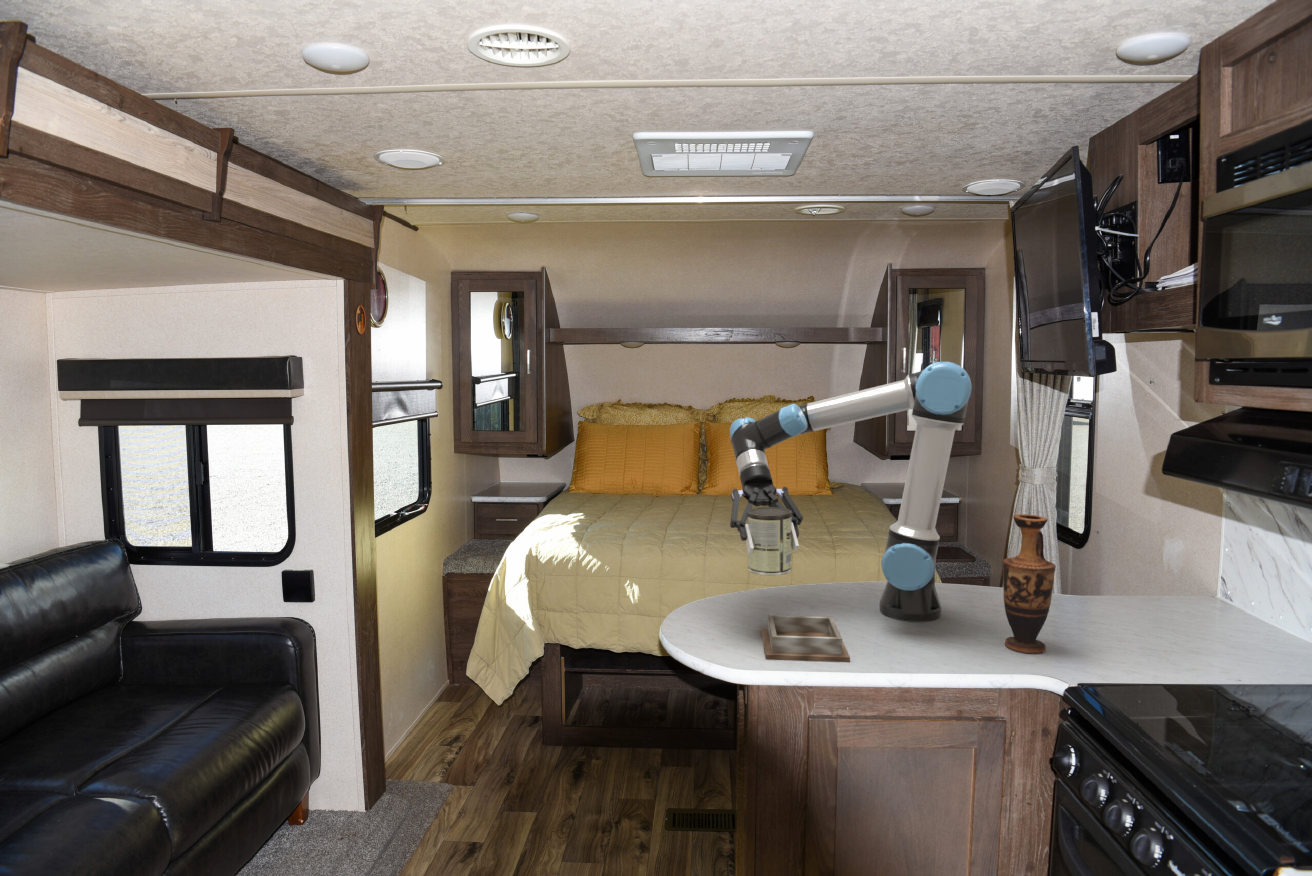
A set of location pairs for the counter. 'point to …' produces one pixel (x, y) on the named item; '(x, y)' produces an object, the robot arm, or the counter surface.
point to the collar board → (803, 639)
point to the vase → (1028, 587)
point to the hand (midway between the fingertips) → (773, 550)
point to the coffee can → (770, 541)
